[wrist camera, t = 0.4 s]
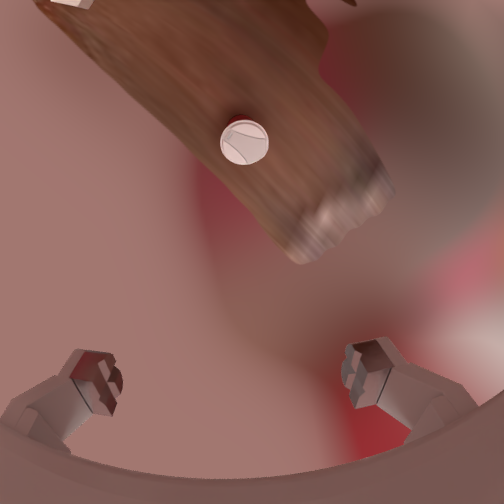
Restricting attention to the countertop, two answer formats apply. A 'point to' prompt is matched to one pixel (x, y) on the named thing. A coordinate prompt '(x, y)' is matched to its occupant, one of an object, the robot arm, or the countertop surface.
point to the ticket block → (76, 3)
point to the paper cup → (244, 140)
